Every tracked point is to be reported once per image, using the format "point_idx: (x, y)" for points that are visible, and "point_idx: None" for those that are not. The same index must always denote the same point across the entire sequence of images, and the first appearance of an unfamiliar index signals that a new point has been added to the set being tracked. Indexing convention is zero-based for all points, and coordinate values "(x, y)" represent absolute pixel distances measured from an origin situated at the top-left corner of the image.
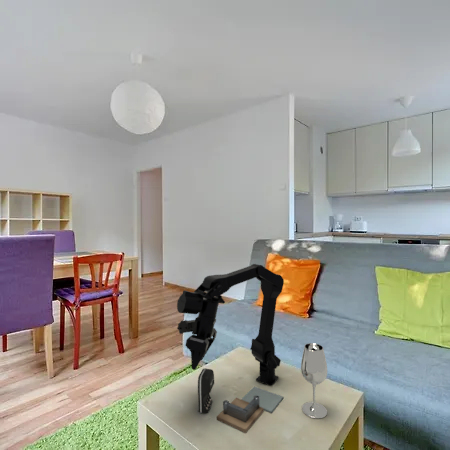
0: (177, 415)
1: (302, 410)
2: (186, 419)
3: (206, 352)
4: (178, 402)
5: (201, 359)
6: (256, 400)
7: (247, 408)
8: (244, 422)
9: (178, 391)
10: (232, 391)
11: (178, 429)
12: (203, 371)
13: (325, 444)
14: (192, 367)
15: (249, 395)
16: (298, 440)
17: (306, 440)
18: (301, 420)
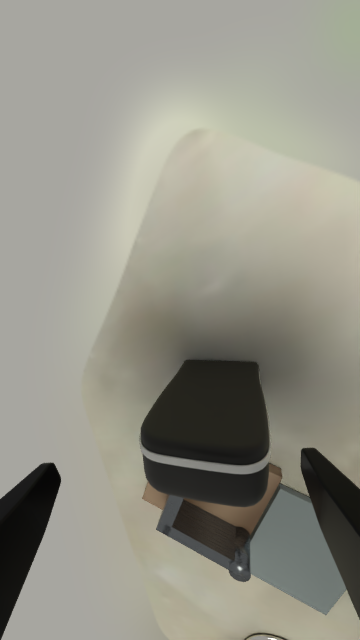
0: (157, 295)
1: (266, 636)
2: (148, 331)
3: (354, 601)
4: (223, 267)
5: (305, 473)
6: (225, 567)
7: (175, 536)
8: (165, 497)
9: (300, 230)
10: (341, 454)
11: (106, 323)
12: (196, 465)
13: (162, 631)
14: (34, 477)
15: (312, 516)
16: (158, 590)
17: (162, 604)
18: (226, 617)
